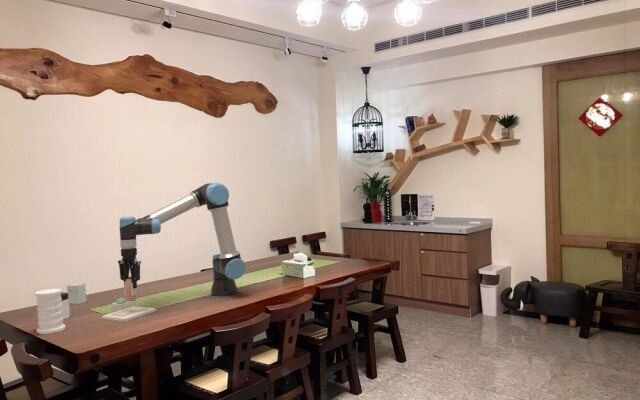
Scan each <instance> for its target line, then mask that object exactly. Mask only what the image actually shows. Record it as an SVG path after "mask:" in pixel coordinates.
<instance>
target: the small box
mask: <svg viewBox="0 0 640 400" xmlns="http://www.w3.org/2000/svg"><path fill="white" fill-rule="evenodd" d="M66 288H67V289H66V290H67V292H66V293H68V296H69V303H70V304H71V305H80V304H83V303H86V302H87V290H86V283H81V282H80V283H79V282H78V283H76V282H75V283H70V284H67V285H66ZM70 304H69V305H70Z"/></svg>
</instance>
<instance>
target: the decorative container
mask: <svg viewBox="0 0 640 400" xmlns="http://www.w3.org/2000/svg"><path fill="white" fill-rule="evenodd" d="M61 293H63V288H47V289H42V290H38V291H36V292H35V293H34V295H35V297H36V304H37V306H36V310H37V319H38V321H37V324H38V327H37V328H36V334H38V333H39V335H47V334H48V335H49V334H54V333H59V332H62V331H64V330H65V329H66V325H65V324H64V323H63V322H64V319H63V317H62V313H63V311H62V303H61V300H62V298H61Z"/></svg>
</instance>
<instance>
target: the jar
mask: <svg viewBox="0 0 640 400" xmlns="http://www.w3.org/2000/svg"><path fill="white" fill-rule="evenodd" d="M61 298H62V300H61V303H62V311H63V313H62V317H63V320H66V319H69V318H70V316H71V311H70V310H71V309H70V304H69V296H68V293H67V292H62V293H61Z"/></svg>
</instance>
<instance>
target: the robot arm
mask: <svg viewBox="0 0 640 400" xmlns="http://www.w3.org/2000/svg"><path fill="white" fill-rule="evenodd" d="M229 198H230V191H229V189H228V187H227V186H226V185H225V184H223V183H219V182H210V183H205V184H203V185H201V186H199V187H198V188H195V189H194V190H192V191H190V192H189V194H188V195H186V196H184V197H182V198H180V199H178V200H176V201H174V202H172V203H170V204H168V205H166V206H164V207H162V208H159V209H158V210H155V211H154V212H151V213H149V214H148V215H146V216H143V217H139V218H137V219H136V217H135V216H123V217H120V219H119V239H120V240H119V242H120V245H119V246H120V248H121V249H120V256H121V257H122V258H121V259H119V260H117V263H118V266H119V268H118V269H119V277H120V278H119V279H120V280H121V281H123V287H124V294H125V296H127V292H126V279H128V277H131V278H132V281H131V295H135V296H136V295H137V294H138V293H137V288H138V281H141V263H142V260H138V259H137V255H138V248H137V236H140V235H141V236H142V235H143V236H144V235H156V234H160V232H161V229H162V228H161V227H162V224H165V223H166V222H168V221H170V220H172V219H174V218H176V217H179V216H180V215H182V214H184V213H186V212H188V211H190V210H193V209H194V208H200V207H202V206H206V209H207V211H208V212H210V213H211V217H212V221H213V226H214V231H215V234H216V239H217V242H218V248H219V252H220V253H219V254H213V255H212V260H211V262H212V272H213V274H212V275H213V276H212V277H213V282H212V285H211V289H210V294H211V295H212V296H217V297H220V296H221V297H224V296H225V297H226V296H231V294H232V295H235V294H237V293H238V292H239V291H238V287H237V284H236V280H238V279H241V277H243V276H244V274H245V272H246V269H247V268H246V267H247V266H246V263H245V262H244V260H243V259H242V258H241V253H240V251H238V250H237V248H236V244H235V239H234V235H233V231H232V226H231V221H230V217H229V212H228V207H229V205H230V204H229Z"/></svg>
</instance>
